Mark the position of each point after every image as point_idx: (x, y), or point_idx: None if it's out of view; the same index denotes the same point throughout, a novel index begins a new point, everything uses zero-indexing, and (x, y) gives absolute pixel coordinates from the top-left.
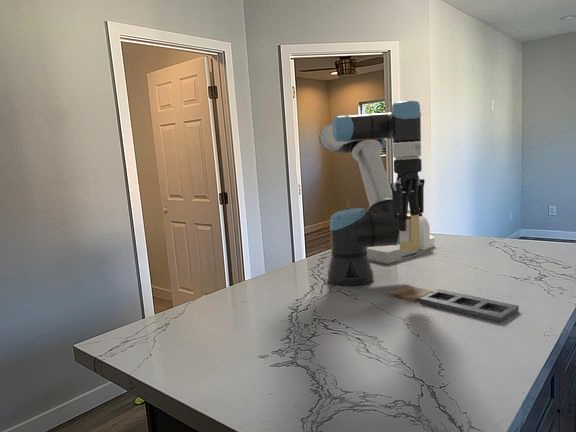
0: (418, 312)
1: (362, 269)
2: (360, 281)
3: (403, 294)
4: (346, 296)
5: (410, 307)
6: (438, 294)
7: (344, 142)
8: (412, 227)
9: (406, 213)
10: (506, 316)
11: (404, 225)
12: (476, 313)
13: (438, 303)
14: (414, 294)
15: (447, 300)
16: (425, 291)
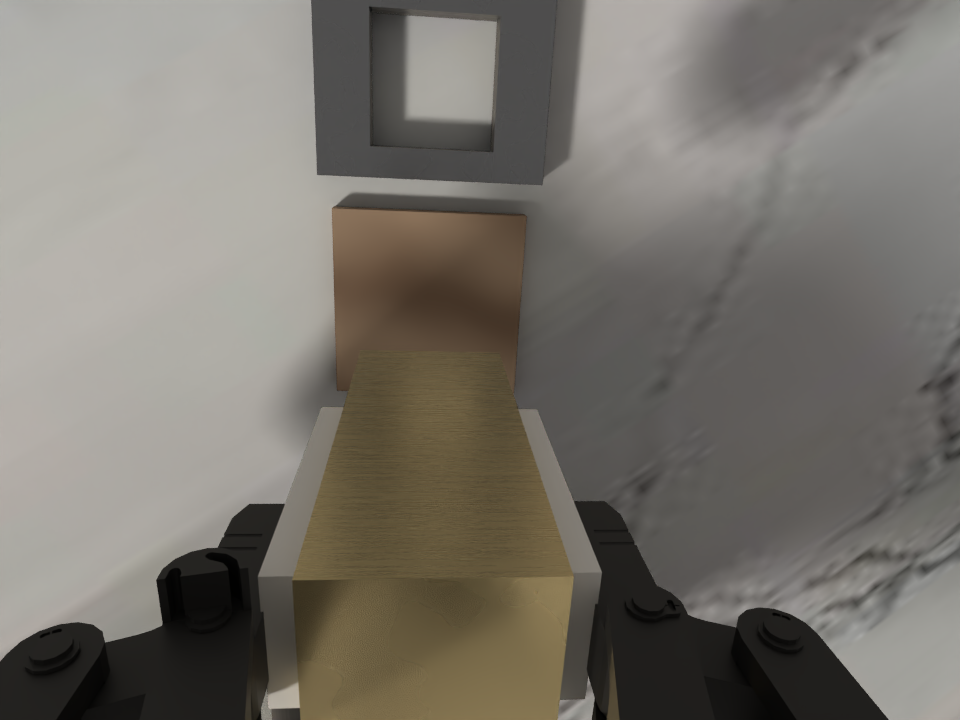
0: (664, 111)
1: None
2: None
3: (493, 313)
4: (640, 532)
5: (617, 189)
6: (371, 145)
7: None
8: (504, 466)
9: (646, 665)
10: None
11: (605, 546)
12: None
13: (552, 43)
14: (459, 263)
15: (484, 14)
16: (370, 240)
